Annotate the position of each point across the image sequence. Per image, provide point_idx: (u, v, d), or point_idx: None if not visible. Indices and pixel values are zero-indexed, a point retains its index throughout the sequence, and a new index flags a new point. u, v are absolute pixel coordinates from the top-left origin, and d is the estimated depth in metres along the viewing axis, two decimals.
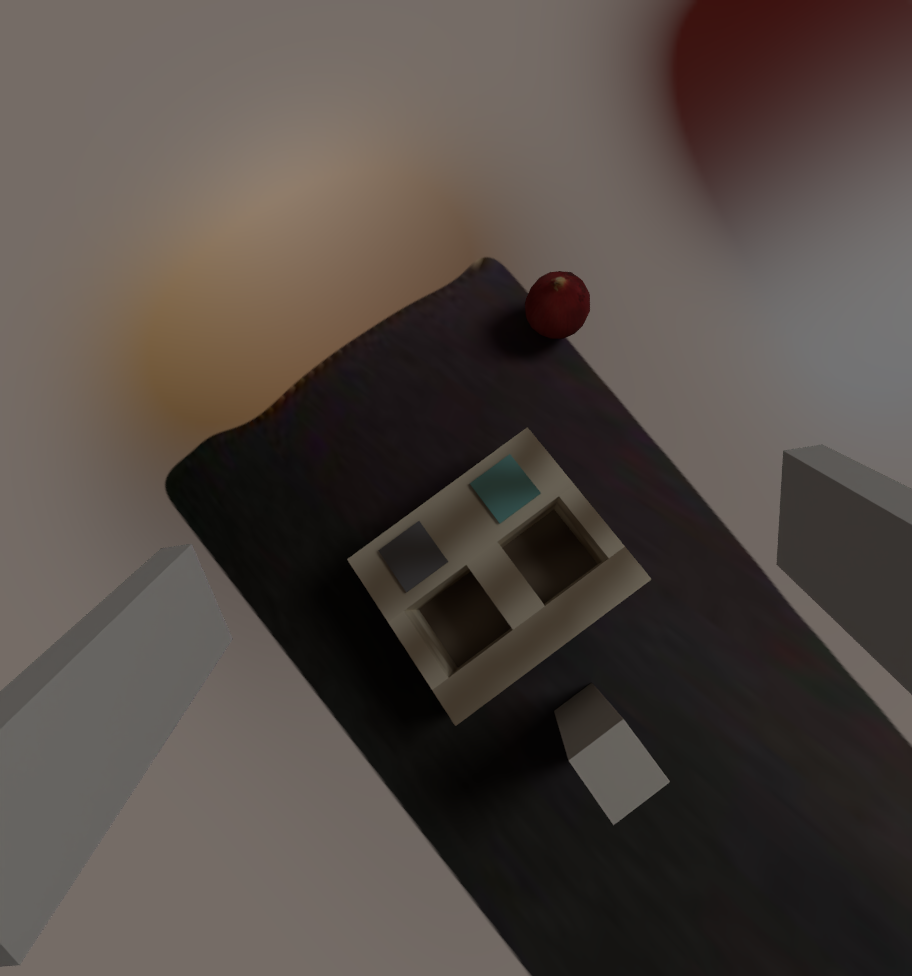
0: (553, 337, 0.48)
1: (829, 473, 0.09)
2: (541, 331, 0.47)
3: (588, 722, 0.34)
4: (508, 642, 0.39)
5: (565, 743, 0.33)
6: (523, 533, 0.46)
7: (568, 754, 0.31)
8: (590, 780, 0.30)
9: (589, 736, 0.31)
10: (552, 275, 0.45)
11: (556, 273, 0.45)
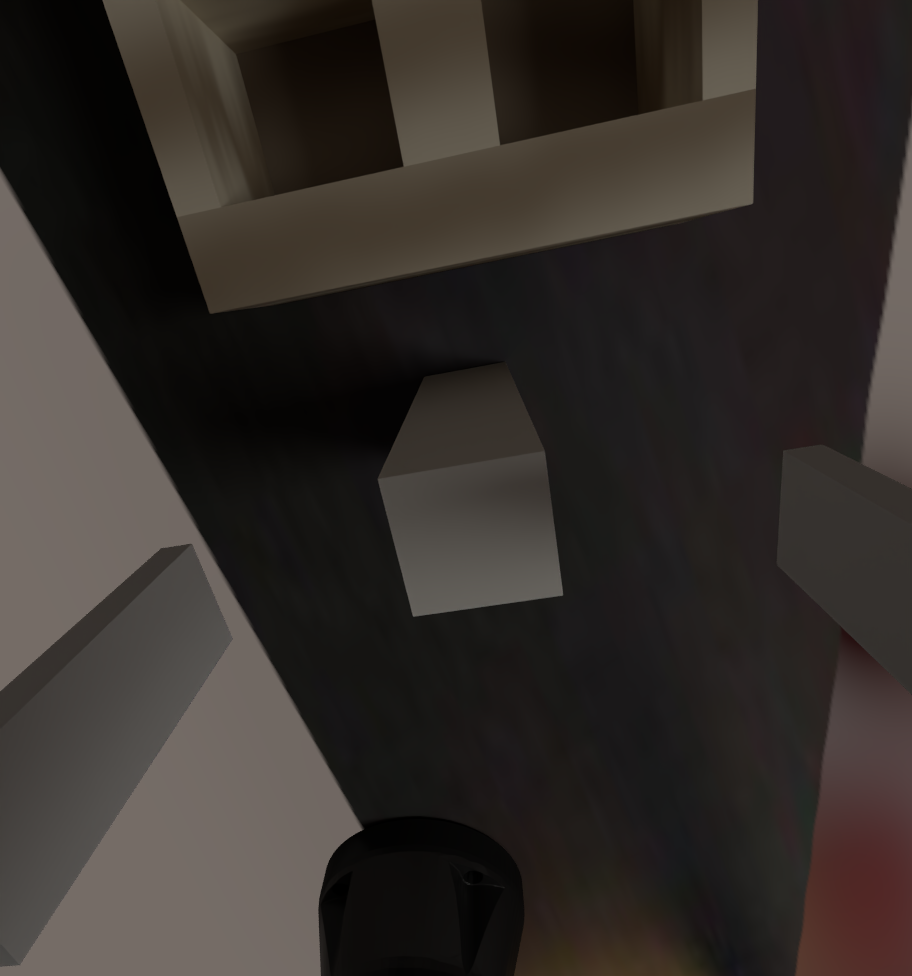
0: None
1: (829, 473, 0.09)
2: None
3: (465, 419, 0.16)
4: (380, 192, 0.16)
5: (400, 437, 0.16)
6: None
7: (387, 464, 0.13)
8: (407, 533, 0.13)
9: (450, 449, 0.13)
10: None
11: None
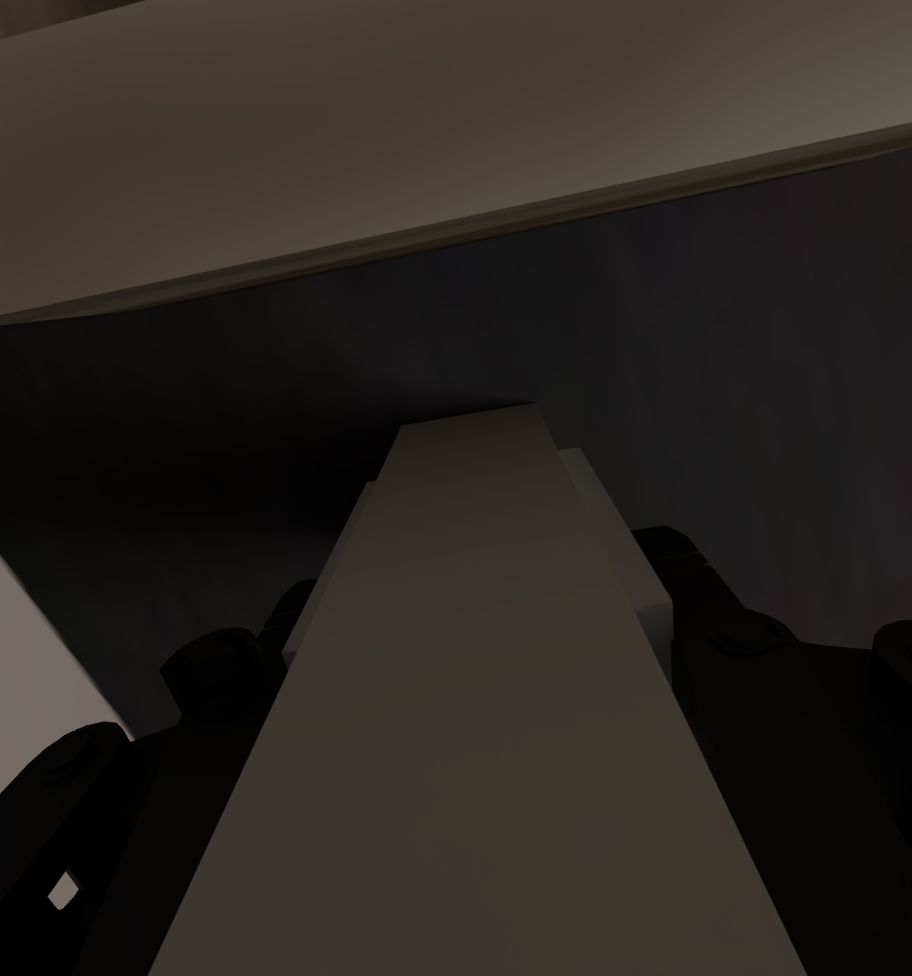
0: None
1: None
2: None
3: (468, 620, 0.06)
4: (251, 32, 0.06)
5: (291, 686, 0.06)
6: None
7: (172, 953, 0.03)
8: None
9: (414, 876, 0.04)
10: None
11: None
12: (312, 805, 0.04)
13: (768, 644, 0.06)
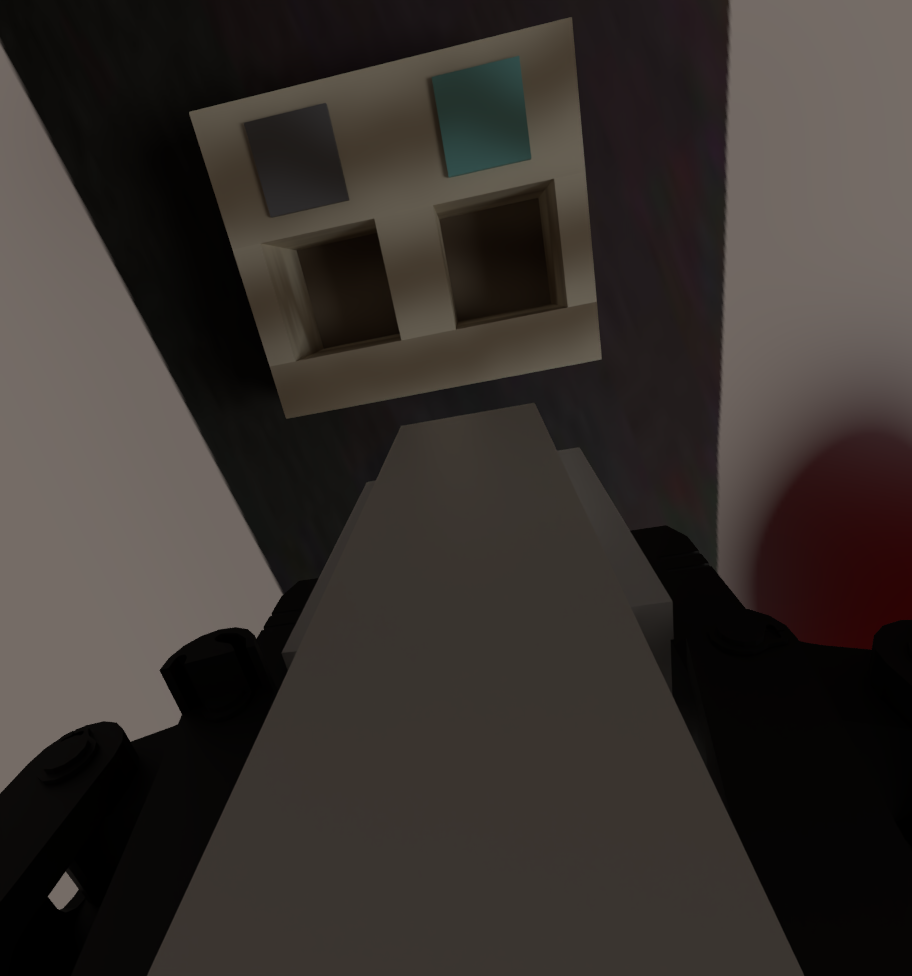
0: None
1: None
2: None
3: (467, 621, 0.06)
4: (388, 353, 0.28)
5: (290, 687, 0.06)
6: (479, 212, 0.31)
7: (170, 954, 0.03)
8: None
9: (412, 877, 0.04)
10: None
11: None
12: (311, 806, 0.04)
13: (768, 644, 0.06)
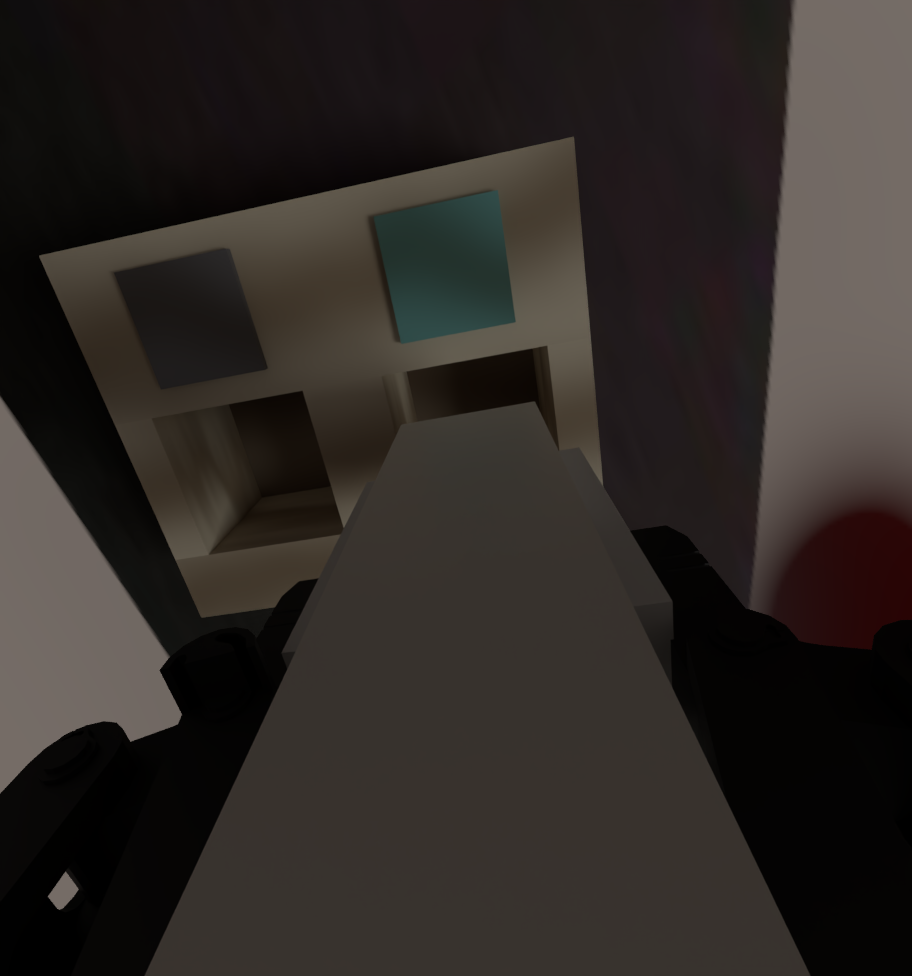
0: None
1: None
2: None
3: (468, 619, 0.06)
4: (328, 548, 0.22)
5: (290, 685, 0.06)
6: None
7: (168, 953, 0.03)
8: None
9: (413, 875, 0.04)
10: None
11: None
12: (310, 804, 0.04)
13: (769, 644, 0.06)
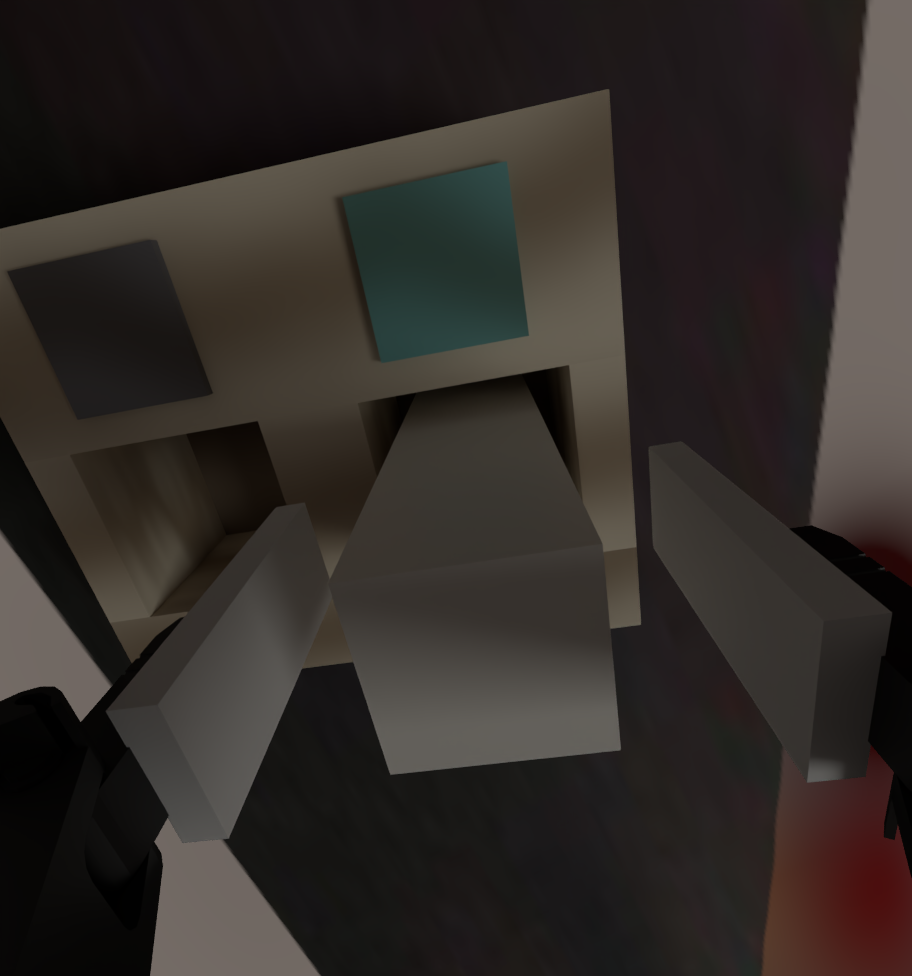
0: None
1: (672, 465, 0.11)
2: None
3: (470, 463, 0.11)
4: None
5: (376, 491, 0.11)
6: None
7: (349, 548, 0.09)
8: (377, 662, 0.08)
9: (448, 524, 0.09)
10: None
11: None
12: (398, 516, 0.09)
13: None
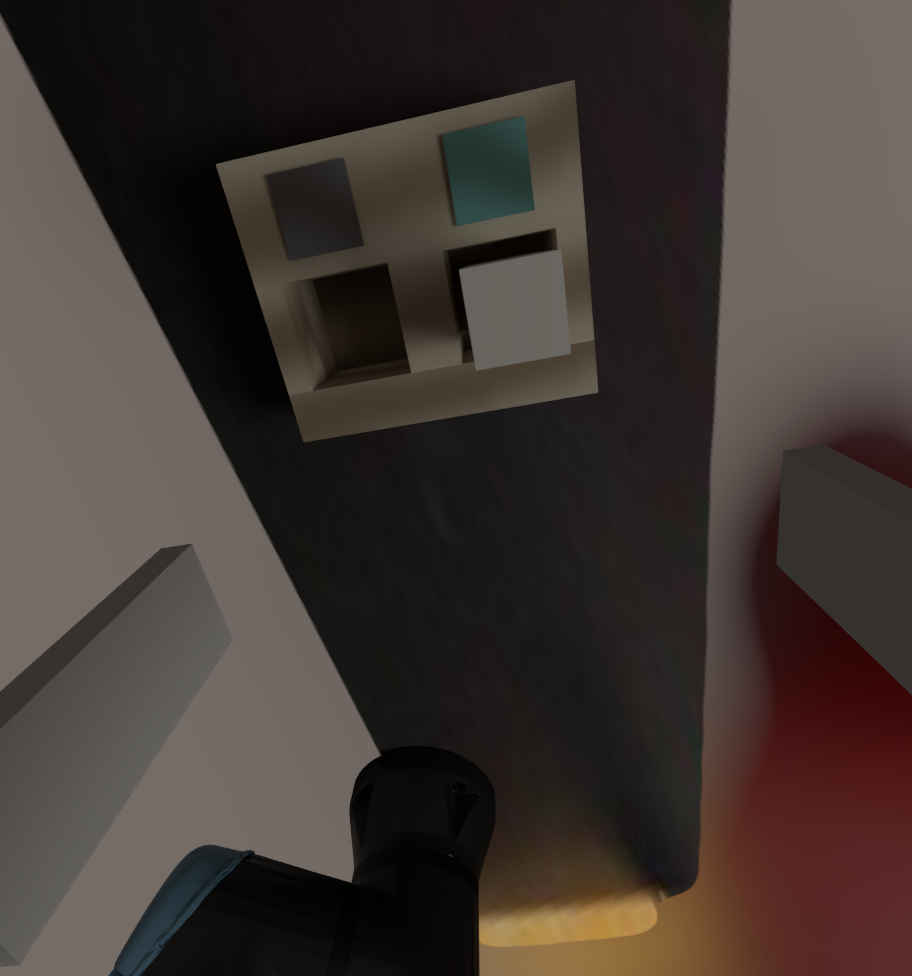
0: None
1: (829, 472, 0.09)
2: None
3: (506, 259, 0.24)
4: (398, 384, 0.30)
5: None
6: (486, 246, 0.33)
7: None
8: (474, 308, 0.21)
9: None
10: None
11: None
12: None
13: None
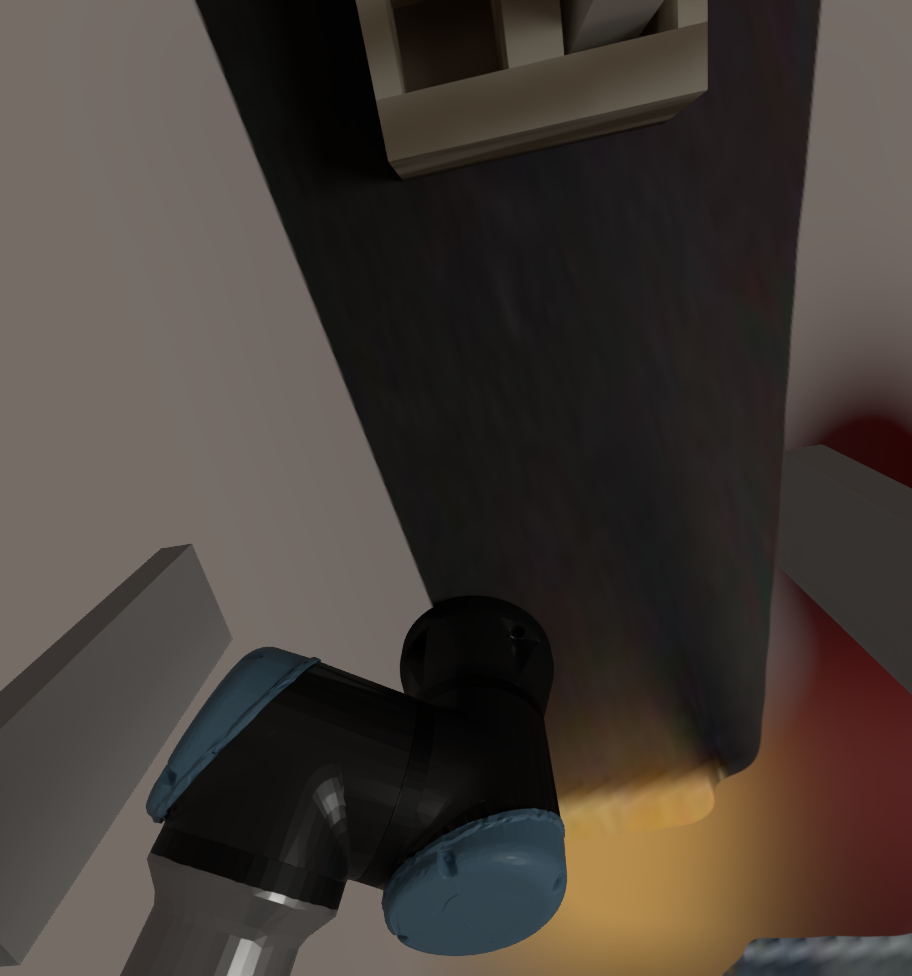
0: None
1: (829, 473, 0.09)
2: None
3: None
4: (494, 84, 0.28)
5: None
6: None
7: None
8: None
9: None
10: None
11: None
12: None
13: None
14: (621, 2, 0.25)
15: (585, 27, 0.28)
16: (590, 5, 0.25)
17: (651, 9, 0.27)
